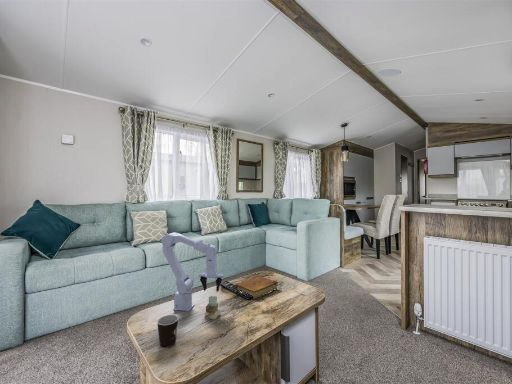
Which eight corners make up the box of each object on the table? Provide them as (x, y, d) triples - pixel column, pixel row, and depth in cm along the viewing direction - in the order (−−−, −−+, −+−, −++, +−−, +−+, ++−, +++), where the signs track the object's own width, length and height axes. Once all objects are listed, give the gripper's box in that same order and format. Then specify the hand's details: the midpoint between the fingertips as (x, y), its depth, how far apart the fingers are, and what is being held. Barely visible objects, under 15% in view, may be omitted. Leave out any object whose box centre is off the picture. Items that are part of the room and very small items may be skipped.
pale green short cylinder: (207, 306, 126) (207, 298, 126) (210, 302, 130) (210, 295, 130) (215, 307, 125) (215, 299, 125) (218, 303, 129) (218, 296, 129)
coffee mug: (165, 351, 97) (165, 327, 97) (152, 345, 102) (152, 321, 102) (187, 337, 107) (187, 315, 107) (174, 332, 112) (175, 310, 112)
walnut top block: (205, 312, 125) (205, 306, 125) (209, 308, 130) (209, 302, 130) (214, 313, 124) (214, 307, 125) (217, 308, 129) (217, 303, 129)
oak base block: (204, 318, 125) (204, 312, 125) (209, 313, 131) (209, 307, 131) (215, 319, 123) (215, 313, 124) (219, 314, 129) (219, 308, 129)
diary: (258, 283, 176) (258, 275, 176) (278, 290, 163) (278, 281, 163) (235, 292, 160) (235, 283, 160) (254, 300, 146) (254, 291, 147)
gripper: (196, 267, 133) (196, 292, 133) (220, 269, 130) (220, 294, 130) (201, 264, 140) (201, 287, 139) (225, 265, 137) (225, 289, 136)
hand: (211, 290), depth 135 cm, fingers open, 7 cm apart
